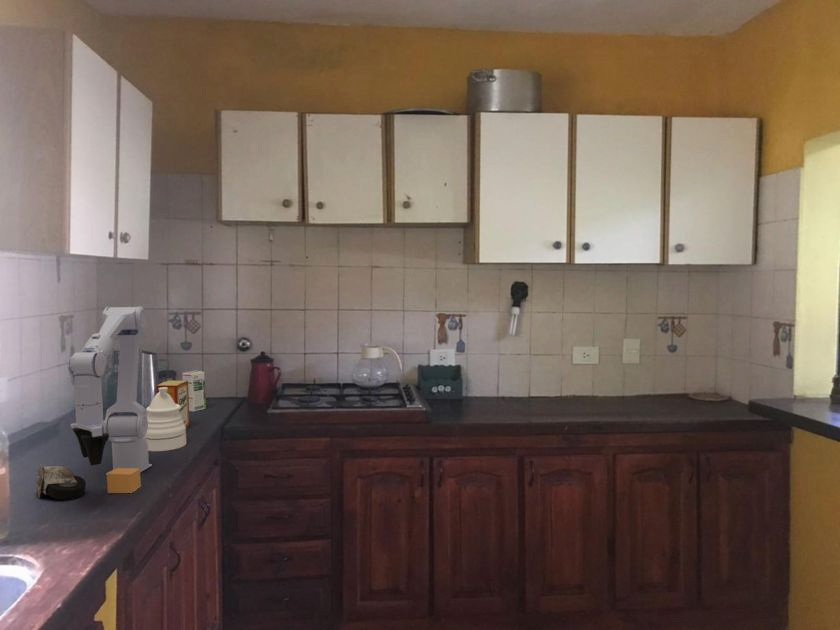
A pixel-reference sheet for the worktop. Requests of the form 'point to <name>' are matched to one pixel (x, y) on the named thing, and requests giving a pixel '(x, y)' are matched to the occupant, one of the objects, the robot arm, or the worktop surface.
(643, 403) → the worktop surface
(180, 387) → the baking soda box
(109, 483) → the block
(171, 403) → the honey pot
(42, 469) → the caster wheel
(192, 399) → the syrup box
